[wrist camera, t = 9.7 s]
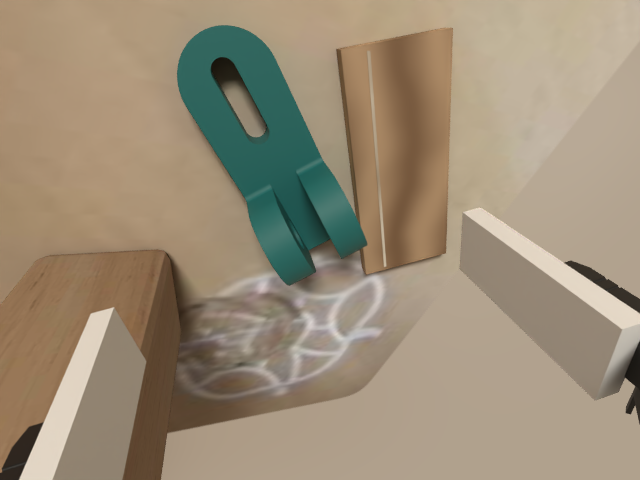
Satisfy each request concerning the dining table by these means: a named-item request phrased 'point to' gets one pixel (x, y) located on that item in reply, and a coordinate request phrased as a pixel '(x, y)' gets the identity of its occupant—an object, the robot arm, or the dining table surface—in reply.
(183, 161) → the dining table surface
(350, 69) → the plank
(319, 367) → the dining table surface
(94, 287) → the block
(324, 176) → the bracket
